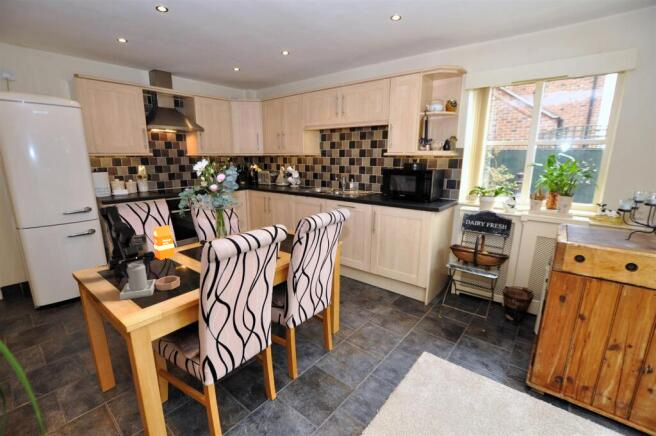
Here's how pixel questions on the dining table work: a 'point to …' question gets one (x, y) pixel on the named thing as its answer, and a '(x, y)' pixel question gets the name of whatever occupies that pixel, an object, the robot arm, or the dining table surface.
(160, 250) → the orange juice
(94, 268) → the dining table surface
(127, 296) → the tray
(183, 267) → the dining table surface
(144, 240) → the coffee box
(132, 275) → the can
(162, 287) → the collar
